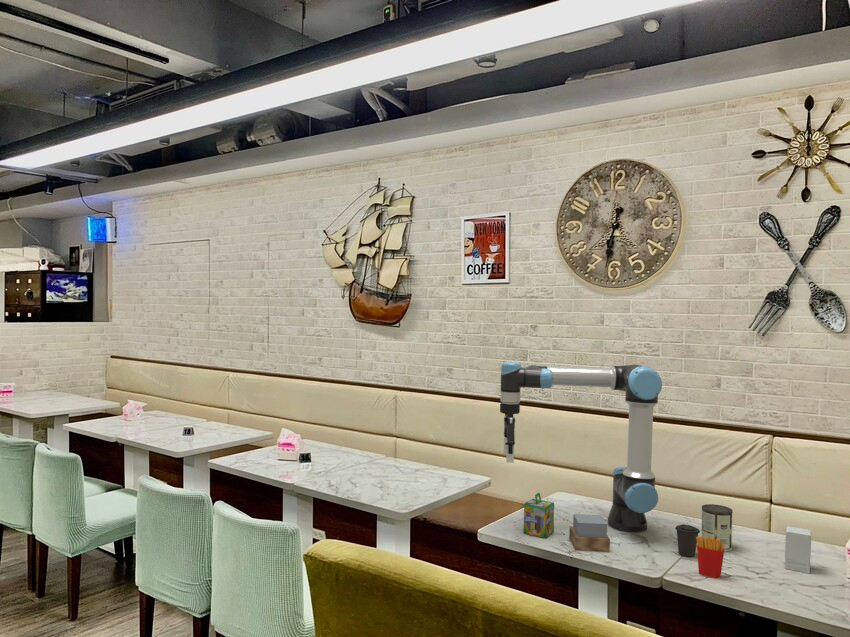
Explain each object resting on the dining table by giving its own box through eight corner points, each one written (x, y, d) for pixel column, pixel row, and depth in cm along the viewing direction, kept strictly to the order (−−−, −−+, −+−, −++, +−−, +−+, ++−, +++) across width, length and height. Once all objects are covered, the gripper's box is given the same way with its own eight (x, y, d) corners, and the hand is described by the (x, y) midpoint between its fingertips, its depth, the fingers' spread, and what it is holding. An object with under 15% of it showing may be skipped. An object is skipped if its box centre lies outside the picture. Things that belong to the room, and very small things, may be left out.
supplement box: (810, 574, 205) (811, 535, 205) (784, 568, 209) (785, 531, 209) (810, 566, 211) (811, 529, 211) (785, 561, 215) (786, 525, 215)
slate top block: (600, 528, 231) (600, 515, 231) (606, 538, 221) (607, 524, 221) (573, 527, 231) (573, 514, 231) (578, 536, 221) (578, 522, 221)
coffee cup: (680, 548, 225) (681, 521, 225) (703, 555, 219) (703, 526, 219) (670, 554, 219) (671, 525, 219) (693, 561, 213) (694, 532, 213)
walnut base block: (601, 541, 232) (602, 527, 232) (609, 553, 220) (609, 539, 220) (569, 539, 232) (569, 526, 232) (575, 551, 220) (575, 537, 220)
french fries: (723, 575, 202) (725, 538, 202) (722, 580, 198) (723, 542, 198) (695, 569, 206) (696, 533, 206) (693, 573, 203) (694, 536, 203)
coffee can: (711, 539, 235) (713, 502, 235) (737, 549, 227) (738, 510, 227) (694, 544, 230) (695, 506, 230) (720, 553, 221) (721, 514, 221)
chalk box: (545, 539, 231) (546, 499, 231) (522, 533, 236) (523, 494, 236) (554, 532, 239) (555, 493, 239) (532, 527, 244) (533, 489, 244)
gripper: (498, 398, 251) (496, 450, 251) (502, 406, 226) (500, 465, 226) (516, 398, 251) (515, 451, 251) (523, 407, 226) (521, 466, 226)
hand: (508, 458), depth 238 cm, fingers open, 13 cm apart
